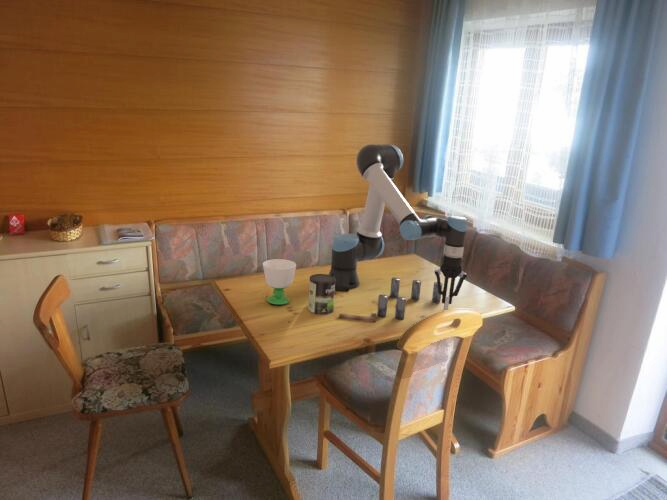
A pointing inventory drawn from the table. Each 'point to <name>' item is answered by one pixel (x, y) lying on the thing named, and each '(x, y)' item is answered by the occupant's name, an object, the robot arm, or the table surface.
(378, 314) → the post
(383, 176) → the robot arm
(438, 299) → the post
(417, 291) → the post
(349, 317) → the hook stick
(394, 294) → the post
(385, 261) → the table surface
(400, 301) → the post
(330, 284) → the coffee can
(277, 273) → the cup
